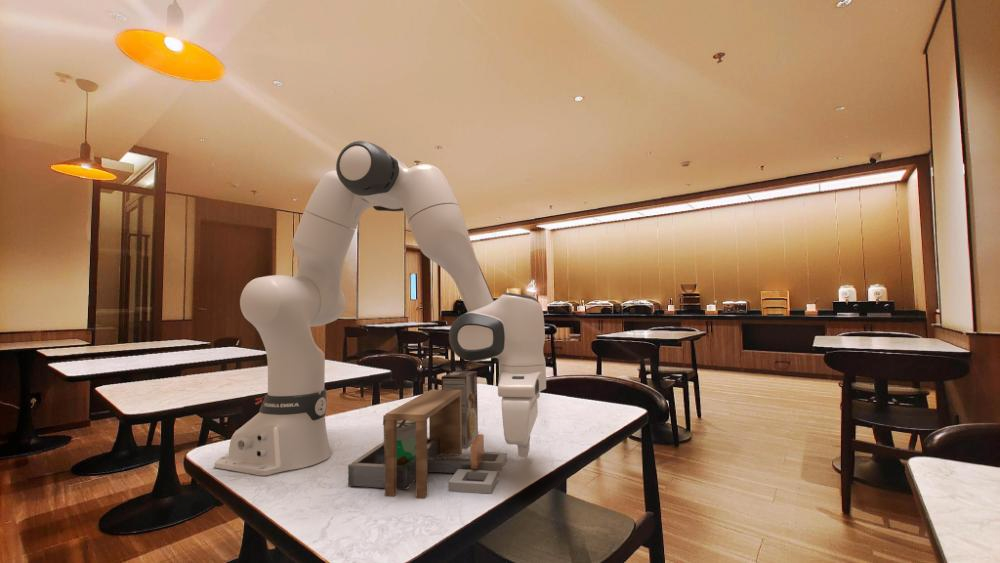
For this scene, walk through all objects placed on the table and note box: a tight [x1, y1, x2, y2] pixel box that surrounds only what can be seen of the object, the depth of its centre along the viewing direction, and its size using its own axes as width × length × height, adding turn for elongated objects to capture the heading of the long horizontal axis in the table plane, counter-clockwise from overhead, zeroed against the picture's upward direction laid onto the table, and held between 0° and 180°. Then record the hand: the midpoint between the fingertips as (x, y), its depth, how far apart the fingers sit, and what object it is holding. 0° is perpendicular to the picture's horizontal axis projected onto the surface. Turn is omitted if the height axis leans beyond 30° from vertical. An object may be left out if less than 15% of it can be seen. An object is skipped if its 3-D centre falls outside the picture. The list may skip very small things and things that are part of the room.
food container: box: [382, 414, 416, 465], centre depth 80 cm, size 12×6×10 cm, turn 27°
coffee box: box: [441, 370, 479, 449], centre depth 99 cm, size 9×6×16 cm
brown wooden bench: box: [384, 389, 463, 499], centre depth 80 cm, size 7×22×14 cm, turn 169°
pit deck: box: [447, 451, 508, 495], centre depth 78 cm, size 8×16×2 cm, turn 170°
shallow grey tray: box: [347, 433, 485, 490], centre depth 80 cm, size 22×18×6 cm
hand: (523, 454), depth 76 cm, fingers closed
